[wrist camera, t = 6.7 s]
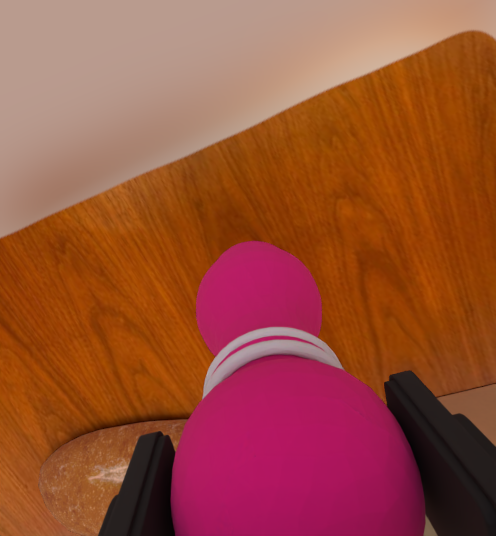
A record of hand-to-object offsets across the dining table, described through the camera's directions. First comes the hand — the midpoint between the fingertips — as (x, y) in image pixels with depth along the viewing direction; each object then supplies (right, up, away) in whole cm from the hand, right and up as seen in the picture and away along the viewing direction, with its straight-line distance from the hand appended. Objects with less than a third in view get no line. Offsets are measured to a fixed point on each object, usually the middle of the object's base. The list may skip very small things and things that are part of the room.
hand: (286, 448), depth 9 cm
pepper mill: (-1, +4, +15) cm, 15 cm away
